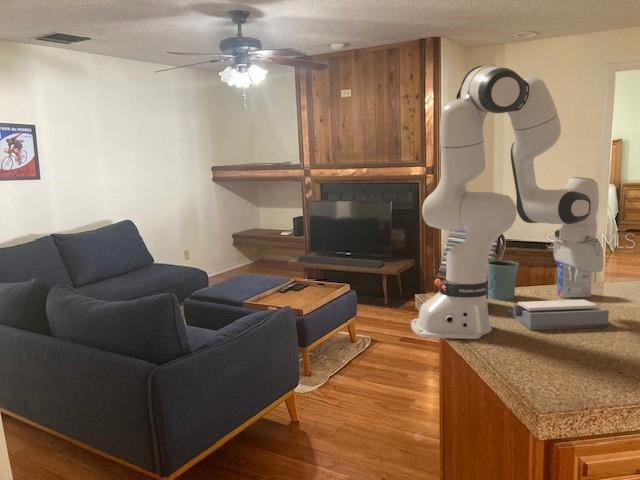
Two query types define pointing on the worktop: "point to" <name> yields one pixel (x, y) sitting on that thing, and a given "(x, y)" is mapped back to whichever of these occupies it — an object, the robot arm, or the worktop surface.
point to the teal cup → (502, 279)
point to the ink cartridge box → (572, 283)
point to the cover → (557, 305)
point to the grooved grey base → (560, 318)
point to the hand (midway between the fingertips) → (575, 281)
